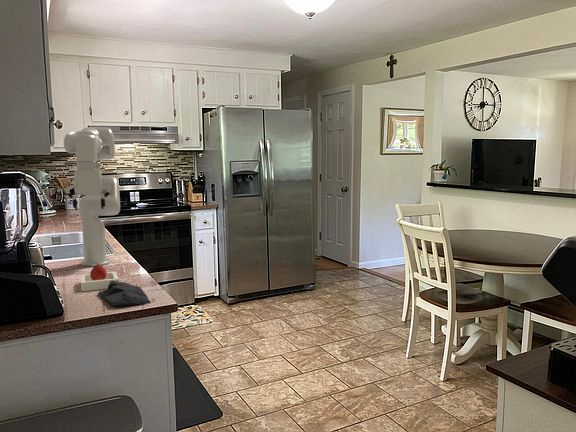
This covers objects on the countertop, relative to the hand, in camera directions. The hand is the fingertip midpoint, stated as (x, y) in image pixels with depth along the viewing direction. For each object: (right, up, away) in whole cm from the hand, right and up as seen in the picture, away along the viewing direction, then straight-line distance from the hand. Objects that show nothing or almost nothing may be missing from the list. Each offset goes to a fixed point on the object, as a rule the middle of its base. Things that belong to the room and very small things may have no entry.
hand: (89, 209), depth 185 cm
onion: (+7, -29, -6) cm, 30 cm away
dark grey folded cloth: (+22, -32, -23) cm, 45 cm away
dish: (+7, -29, -6) cm, 31 cm away
